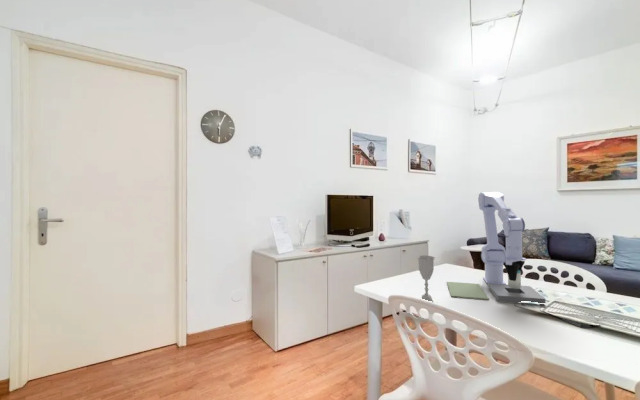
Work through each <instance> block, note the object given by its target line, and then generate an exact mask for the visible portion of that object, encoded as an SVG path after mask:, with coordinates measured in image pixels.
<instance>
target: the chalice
mask: <svg viewBox="0 0 640 400" xmlns="http://www.w3.org/2000/svg"><path fill="white" fill-rule="evenodd" d="M417 260H418V271H419V274H420V276H421V277H422V279H423V280H424V292H425V293H423V294H422V295H421V298H422V299H425V300H428V301H432V303H434V300H433V298H432V296H431V294H429V287H428V286H429V283H428V281H429V280H431V278H432V276H433V274H434V263H435V262H434V260H435V256H431V255H418V256H417ZM421 298H420V299H421Z"/></svg>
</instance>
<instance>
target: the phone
mask: <svg viewBox="0 0 640 400" xmlns="http://www.w3.org/2000/svg"><path fill="white" fill-rule="evenodd" d="M561 320H562V321H564V322H567V323H568V324H572V325H574V326H576V327H579V328H583V329H585V328H593V327H592V326H590V325H587V324H583V323H578V322H574V321H571V320H567V319H561Z"/></svg>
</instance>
